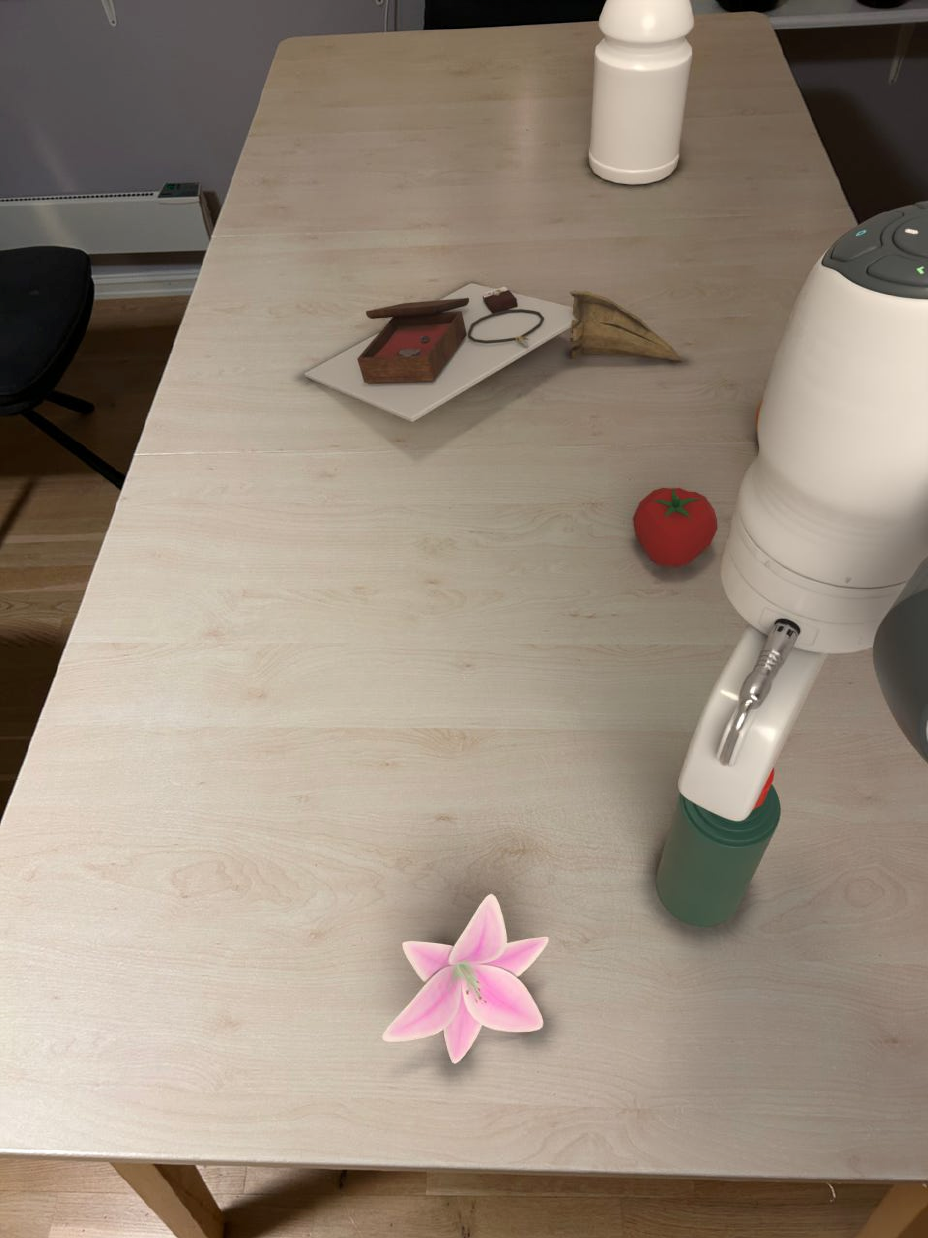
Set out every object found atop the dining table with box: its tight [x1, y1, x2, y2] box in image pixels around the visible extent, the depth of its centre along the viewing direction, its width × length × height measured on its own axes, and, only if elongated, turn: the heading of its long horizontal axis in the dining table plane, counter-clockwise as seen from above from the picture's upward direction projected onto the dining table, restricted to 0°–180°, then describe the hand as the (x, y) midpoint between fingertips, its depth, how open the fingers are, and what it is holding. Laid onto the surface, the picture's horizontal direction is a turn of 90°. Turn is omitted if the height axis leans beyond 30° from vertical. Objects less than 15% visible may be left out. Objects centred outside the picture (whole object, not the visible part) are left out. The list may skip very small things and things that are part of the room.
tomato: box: [632, 487, 718, 568], centre depth 93 cm, size 8×8×7 cm
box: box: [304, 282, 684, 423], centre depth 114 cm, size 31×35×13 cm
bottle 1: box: [588, 0, 695, 185], centre depth 135 cm, size 14×14×28 cm
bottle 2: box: [655, 783, 782, 928], centre depth 66 cm, size 7×7×18 cm
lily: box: [381, 893, 550, 1065], centre depth 66 cm, size 12×12×10 cm
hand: (761, 718), depth 54 cm, fingers open, 5 cm apart
